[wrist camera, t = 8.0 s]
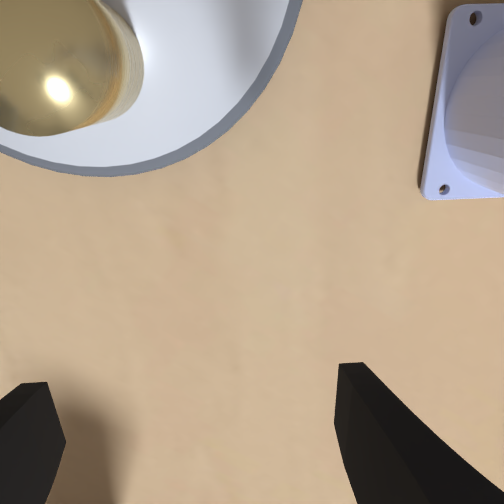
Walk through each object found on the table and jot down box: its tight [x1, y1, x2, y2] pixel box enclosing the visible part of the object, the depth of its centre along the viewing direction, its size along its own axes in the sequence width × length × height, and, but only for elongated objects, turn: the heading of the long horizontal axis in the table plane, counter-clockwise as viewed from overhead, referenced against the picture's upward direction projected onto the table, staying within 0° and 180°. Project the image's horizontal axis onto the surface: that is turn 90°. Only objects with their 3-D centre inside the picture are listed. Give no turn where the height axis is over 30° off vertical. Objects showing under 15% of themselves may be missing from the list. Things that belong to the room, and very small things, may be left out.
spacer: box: [0, 0, 144, 137], centre depth 11 cm, size 4×4×4 cm
